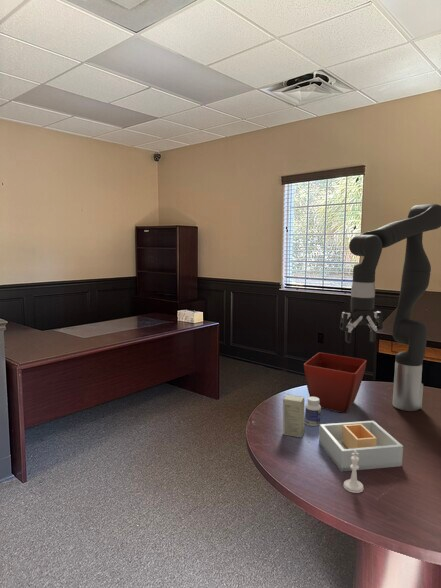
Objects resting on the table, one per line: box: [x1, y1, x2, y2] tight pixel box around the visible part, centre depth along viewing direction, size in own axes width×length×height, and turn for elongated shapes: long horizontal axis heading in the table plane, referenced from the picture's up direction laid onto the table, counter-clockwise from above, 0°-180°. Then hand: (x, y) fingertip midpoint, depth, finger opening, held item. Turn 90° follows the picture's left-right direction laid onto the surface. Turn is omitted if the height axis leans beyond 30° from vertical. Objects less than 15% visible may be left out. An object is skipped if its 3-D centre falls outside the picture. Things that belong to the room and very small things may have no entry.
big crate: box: [318, 420, 404, 473], centre depth 122 cm, size 18×16×6 cm
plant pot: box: [303, 352, 368, 414], centre depth 156 cm, size 19×19×17 cm
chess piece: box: [343, 451, 364, 494], centre depth 106 cm, size 5×5×10 cm
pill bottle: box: [304, 396, 322, 427], centre depth 141 cm, size 5×5×9 cm
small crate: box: [342, 424, 377, 449], centre depth 122 cm, size 6×9×6 cm, turn 9°
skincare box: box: [282, 394, 305, 438], centre depth 134 cm, size 6×4×12 cm
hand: (360, 342), depth 140 cm, fingers open, 8 cm apart
